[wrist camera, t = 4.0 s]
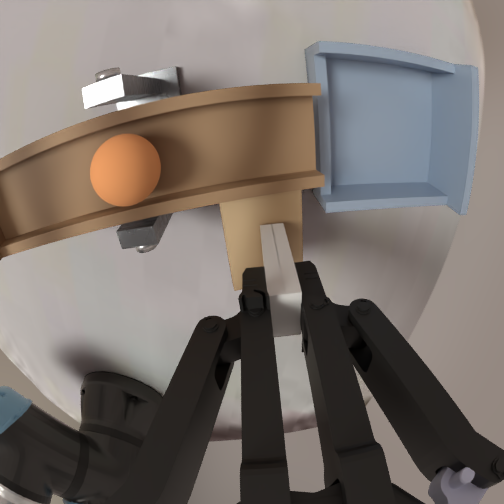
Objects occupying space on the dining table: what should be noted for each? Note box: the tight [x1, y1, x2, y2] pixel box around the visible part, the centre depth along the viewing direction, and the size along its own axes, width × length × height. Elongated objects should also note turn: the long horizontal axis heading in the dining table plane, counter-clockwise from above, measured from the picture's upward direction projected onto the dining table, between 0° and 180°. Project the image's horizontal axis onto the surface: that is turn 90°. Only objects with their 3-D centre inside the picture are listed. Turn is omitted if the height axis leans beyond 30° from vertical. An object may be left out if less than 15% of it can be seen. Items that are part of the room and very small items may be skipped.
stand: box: [82, 66, 181, 253], centre depth 17 cm, size 5×11×8 cm, turn 6°
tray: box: [305, 41, 479, 215], centre depth 17 cm, size 12×12×6 cm
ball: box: [90, 134, 161, 207], centre depth 12 cm, size 4×4×4 cm
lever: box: [0, 83, 325, 291], centre depth 15 cm, size 22×13×3 cm, turn 96°
